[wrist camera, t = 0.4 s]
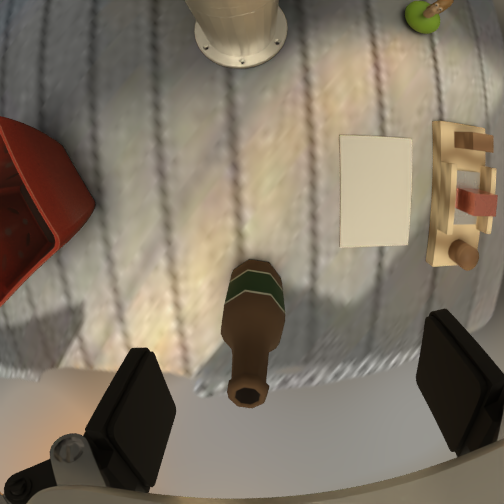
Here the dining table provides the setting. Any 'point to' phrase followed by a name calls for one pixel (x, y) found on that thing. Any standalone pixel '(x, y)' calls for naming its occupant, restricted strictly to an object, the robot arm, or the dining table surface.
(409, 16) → the snail figurine
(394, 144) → the mat
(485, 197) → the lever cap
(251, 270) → the beer bottle
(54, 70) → the dining table surface
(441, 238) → the body
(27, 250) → the plant pot
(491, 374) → the robot arm
